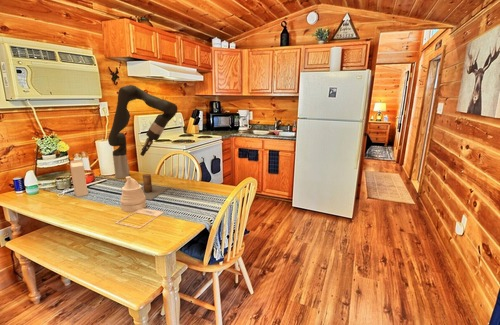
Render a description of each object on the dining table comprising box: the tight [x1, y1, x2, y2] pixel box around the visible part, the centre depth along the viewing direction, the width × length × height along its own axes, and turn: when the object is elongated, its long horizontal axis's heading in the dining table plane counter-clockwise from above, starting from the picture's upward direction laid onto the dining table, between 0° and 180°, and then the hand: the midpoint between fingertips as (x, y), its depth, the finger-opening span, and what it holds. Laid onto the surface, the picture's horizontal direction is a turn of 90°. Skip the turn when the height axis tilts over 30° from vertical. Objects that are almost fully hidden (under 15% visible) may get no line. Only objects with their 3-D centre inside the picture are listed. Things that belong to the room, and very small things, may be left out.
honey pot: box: [119, 175, 147, 213], centre depth 141 cm, size 13×13×18 cm
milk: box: [69, 159, 89, 198], centre depth 157 cm, size 6×6×22 cm
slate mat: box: [141, 185, 171, 201], centre depth 164 cm, size 22×18×1 cm
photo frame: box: [114, 207, 165, 229], centre depth 130 cm, size 15×1×18 cm
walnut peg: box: [142, 173, 153, 193], centre depth 163 cm, size 5×5×11 cm
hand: (142, 153), depth 158 cm, fingers open, 8 cm apart
